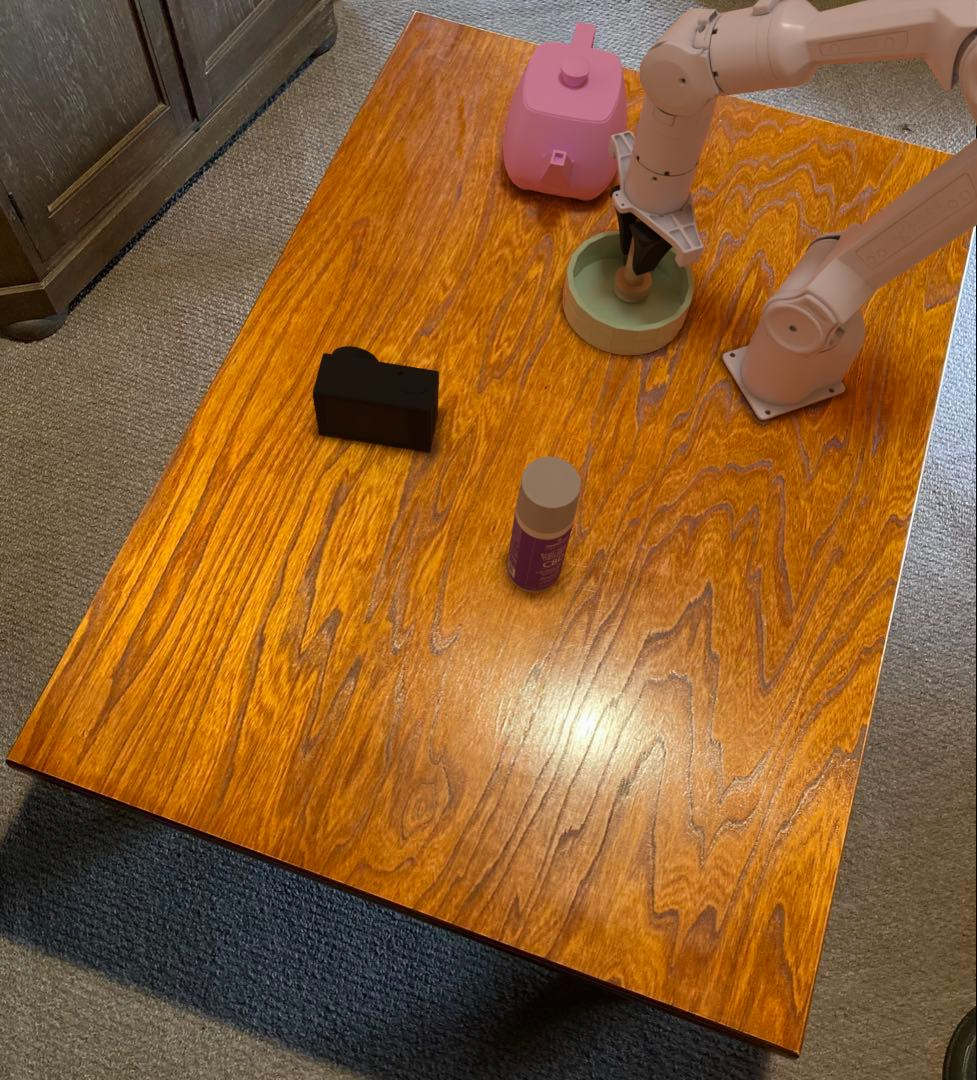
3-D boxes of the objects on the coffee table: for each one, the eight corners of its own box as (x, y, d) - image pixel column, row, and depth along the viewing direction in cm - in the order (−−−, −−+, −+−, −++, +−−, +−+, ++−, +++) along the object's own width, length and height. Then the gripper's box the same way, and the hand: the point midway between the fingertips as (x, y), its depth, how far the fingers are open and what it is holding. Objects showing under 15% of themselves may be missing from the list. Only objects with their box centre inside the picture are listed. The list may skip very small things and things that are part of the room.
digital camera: (441, 403, 100) (443, 359, 94) (431, 453, 98) (432, 410, 92) (331, 386, 100) (325, 340, 94) (318, 435, 98) (312, 391, 92)
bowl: (650, 243, 110) (658, 215, 107) (706, 335, 105) (717, 309, 102) (542, 275, 108) (546, 248, 104) (595, 371, 103) (601, 346, 99)
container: (542, 603, 92) (562, 520, 78) (496, 575, 93) (507, 489, 79) (570, 562, 94) (594, 474, 80) (524, 535, 95) (540, 444, 81)
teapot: (518, 91, 119) (528, -13, 107) (629, 111, 118) (651, 9, 107) (484, 226, 110) (492, 129, 99) (604, 248, 110) (626, 153, 98)
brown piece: (641, 271, 107) (657, 204, 99) (654, 298, 106) (672, 232, 98) (607, 279, 107) (621, 211, 99) (620, 306, 105) (635, 240, 97)
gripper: (587, 103, 93) (568, 216, 105) (663, 225, 87) (633, 329, 99) (660, 84, 94) (632, 197, 106) (739, 203, 88) (700, 308, 101)
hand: (637, 259), depth 103 cm, fingers closed on brown piece, 2 cm apart
